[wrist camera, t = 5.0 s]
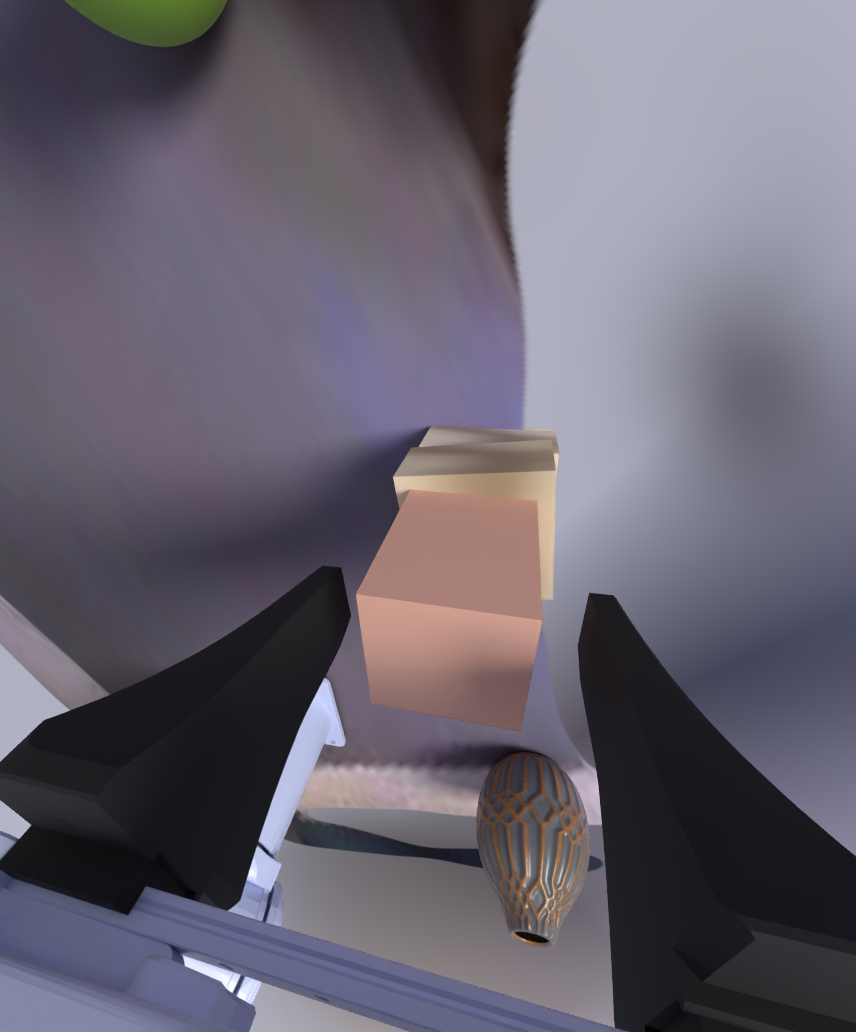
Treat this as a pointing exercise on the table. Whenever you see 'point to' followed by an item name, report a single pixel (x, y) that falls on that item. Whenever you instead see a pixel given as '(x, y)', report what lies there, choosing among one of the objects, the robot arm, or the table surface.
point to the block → (455, 608)
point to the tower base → (487, 436)
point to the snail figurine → (152, 18)
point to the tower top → (490, 481)
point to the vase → (532, 844)
